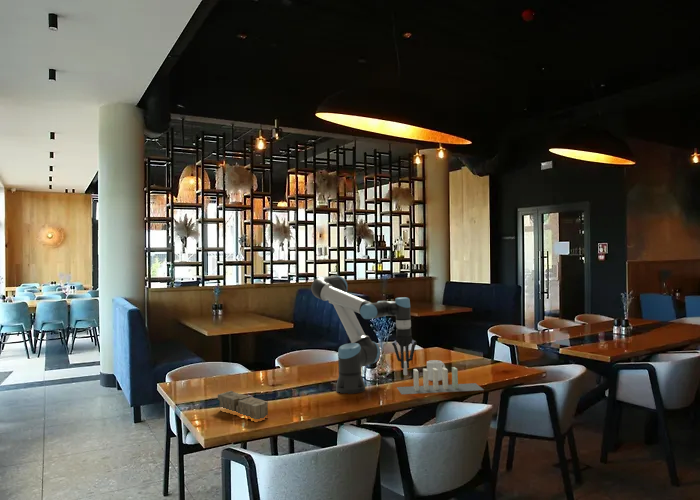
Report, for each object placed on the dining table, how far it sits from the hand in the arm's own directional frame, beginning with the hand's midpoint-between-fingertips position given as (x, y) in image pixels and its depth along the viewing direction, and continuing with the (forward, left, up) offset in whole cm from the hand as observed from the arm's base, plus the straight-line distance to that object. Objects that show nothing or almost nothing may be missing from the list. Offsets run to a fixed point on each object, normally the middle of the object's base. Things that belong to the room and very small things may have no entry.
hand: (405, 374), depth 271 cm
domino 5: (+26, 0, -8) cm, 27 cm away
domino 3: (+15, 0, -8) cm, 17 cm away
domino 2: (+10, 0, -8) cm, 13 cm away
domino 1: (+5, 0, -8) cm, 10 cm away
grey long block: (-79, -25, -9) cm, 83 cm away
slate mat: (+17, 0, -9) cm, 19 cm away
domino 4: (+20, 0, -8) cm, 22 cm away
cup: (+21, +21, -9) cm, 31 cm away
